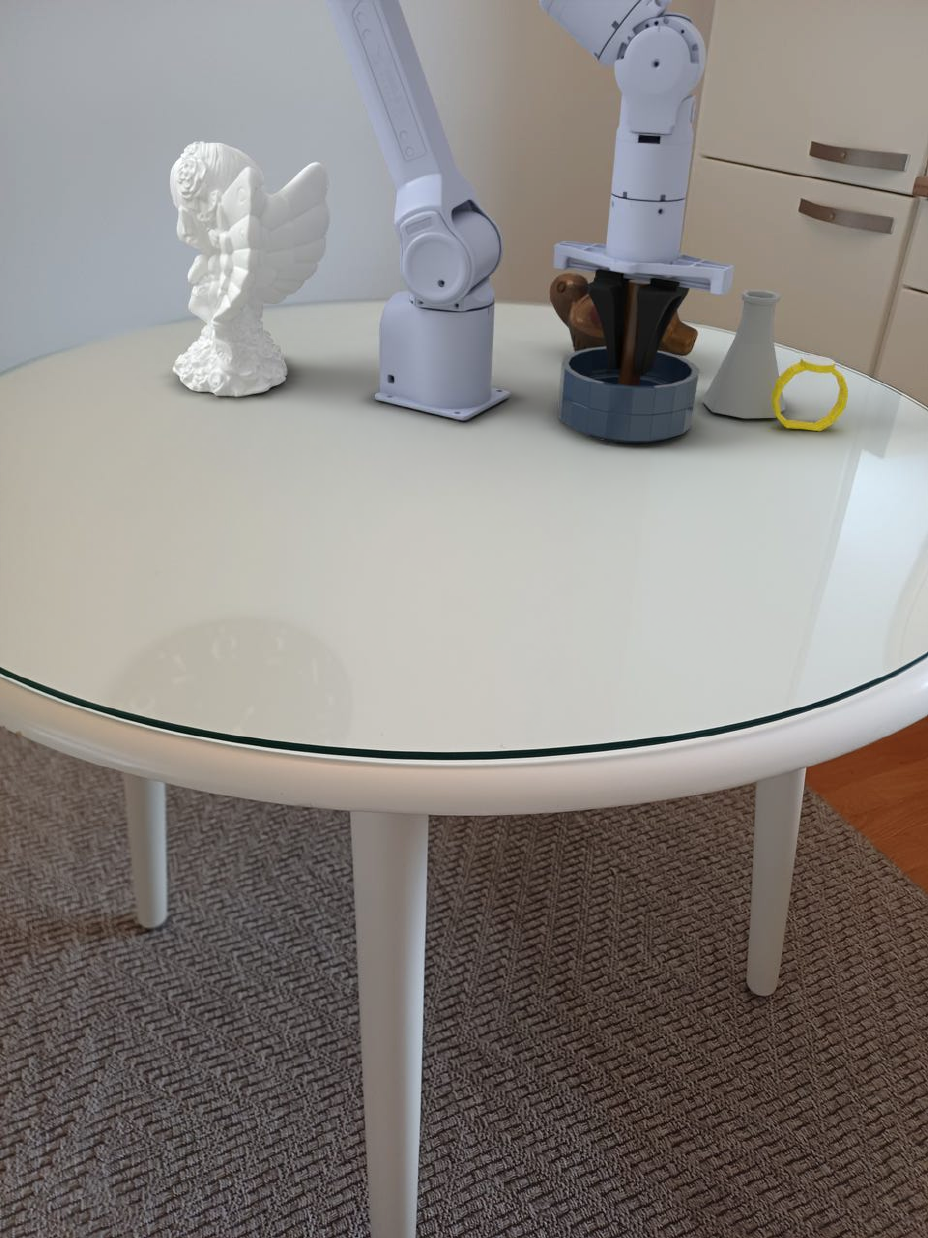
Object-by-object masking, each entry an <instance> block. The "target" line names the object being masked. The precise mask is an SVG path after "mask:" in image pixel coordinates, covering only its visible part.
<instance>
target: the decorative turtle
mask: <svg viewBox="0 0 928 1238" xmlns="http://www.w3.org/2000/svg"><path fill="white" fill-rule="evenodd" d="M588 284H589V282H588V277H585V276H583V275H582V274H578V273H575V272H574V273H573V272H567V273H561V274H559V275H558V276H556V277H555V278H554V279H553V281H552V282H551V284H550V288H549V301H550V303H551V304H552V308H553V309H554V311H555V313H556V315H557V317H558V318H559V319H560V320H561V322H562V323H563V324H564V325H565V326H566V327H567V329H568V330H569V334H570V335H569V336H570V338H571V343H572V346H573V352H576V351H580V350H584V349H588V348H596V347H606V343H605V338H604V334H603V330H602V326H601V322H600V319H599V316H598V314H597V311H596V309H595V306H594V304H593V302H592V300H591V298H590V296H589V294H588ZM698 335H699V332H698V330H697V329H696V328H695V327H693V326H691V325H689V324H686V323H684V322H683V321H681V320H680V315H679V314H678V310H677V311H676V313H675V315H674V316H673V318H672V320H671V322H670V324H669V325H668V327H667V330H666V332H665V334H664V336H663V338H662V341H661V343H660V346H659V348H658V351H663V352H668V353H671V354H674V355H677V356H680V357H687V356H688V355H689V354H691V353H692V351H693V349H694V347H695V344H696V341H697V338H698Z"/></svg>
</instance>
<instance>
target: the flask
mask: <svg viewBox="0 0 928 1238" xmlns="http://www.w3.org/2000/svg"><path fill="white" fill-rule="evenodd" d="M781 298H782V295H781V294H779V293H778V292H777V291H772V290H766V289H745V290H744V291H743V292H742V293H741V300H742V301H743V307H742V313H741V318H740V322H739V323H738V327H737V330H736V333H735V336H734V338H733V340H732V342H731V344H730V346H729V348H728V350H727V352H726V355H725V356H724V359H723V360H722V362H721V365H720V366H719V368H718V370H717V372H716V374H715V375H714V378H713V379H712V381H711V383H710V385H709V387H708V388H707V390H706V392H705V394H704V396H703V398H702V400H701V401H702V402H703V404H704V405H705V406H706V407H707V408H708V409H709V411H711V413H714V414H715V413H716V414H721V415H726V416H731V417H735V418H740V419H777V416H776V415H775V413H774V411H773V406H772V400H771V397H772V392H773V389H774V386H775V383H776V381H777V379H778V378H779V377H780V373H779V372H780V371H779V367H778V366H779V365H778V359H777V353H776V347H775V341H774V339H775V338H774V337H775V336H774V333H775V332H774V328H775V327H774V318H775V312H776V306H777V304H778V303H780V300H781ZM779 406H780V412H781V413H783V411H785V409H786V404H785V398H784V393H783V391H782V393H781V396H780V399H779Z"/></svg>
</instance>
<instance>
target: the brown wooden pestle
mask: <svg viewBox="0 0 928 1238" xmlns="http://www.w3.org/2000/svg"><path fill="white" fill-rule="evenodd" d="M646 286H650V282H648V281H641V280H635V279H634V280H630V281H629V282H628V290H627V299H626V309H625V319H624V329H623V339H622V348H621V358H620V368H619V378H618V384H619V385H629V386H640V377H641V375H637V374H635V356H636V349H637V341H638V303H637V291H638V290H640V289H642V288H644V287H646Z"/></svg>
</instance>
